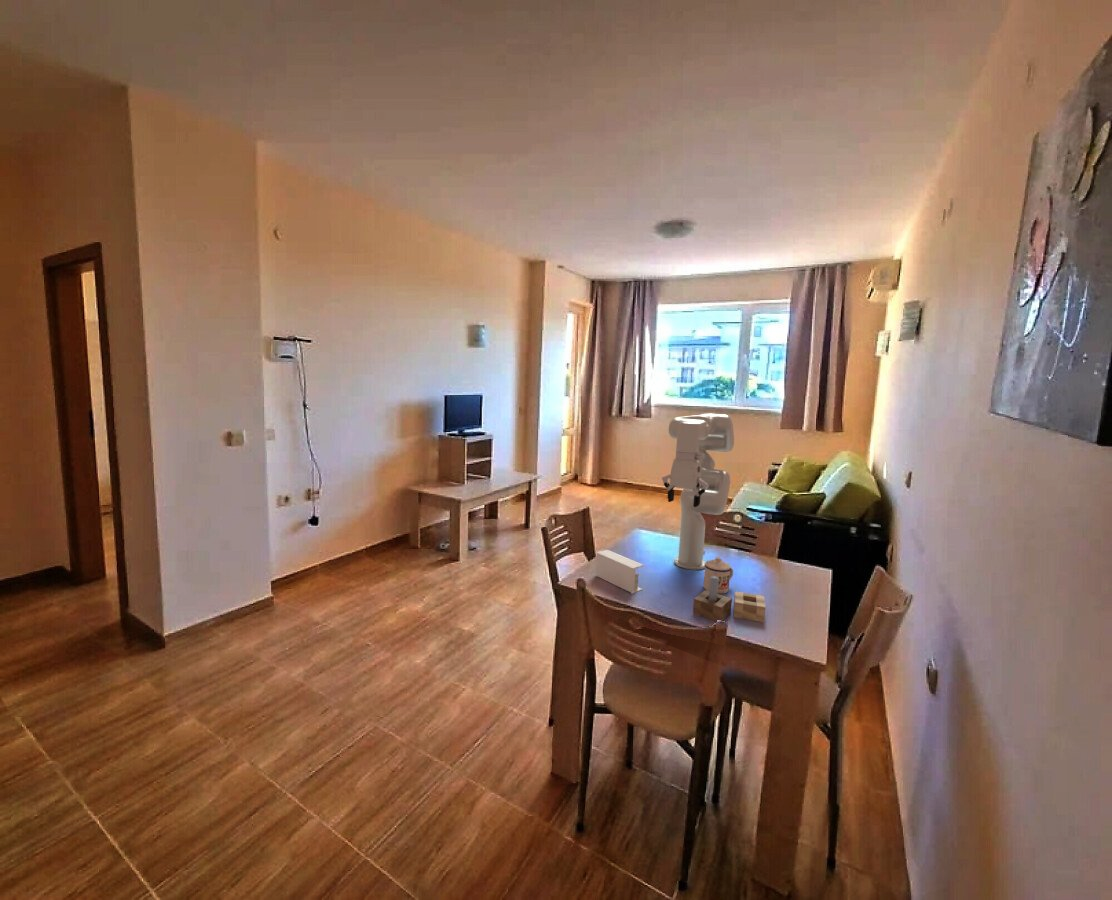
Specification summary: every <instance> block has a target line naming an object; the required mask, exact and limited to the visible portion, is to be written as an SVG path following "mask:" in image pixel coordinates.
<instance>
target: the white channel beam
mask: <svg viewBox="0 0 1112 900" xmlns="http://www.w3.org/2000/svg"><path fill="white" fill-rule="evenodd" d="M595 558H596V561H595V577H598V578H600V579H602V580H604V581H607V582H608V583H610V584H612V585H614V586H616V587H619V588H621V589H623V590H625V591H627V592H629V593H630V594H632V595H633V594H635V593H637V592H640V591H643V589H642V587H639V573H638V572H636V569H638V568H643V567H644V566H645V565H644V564H642V563H640V562H637V561H636V560H633V559H631V558H629V557H626V556H623V555H621V554H619V553H617V552H614V551H611V550H609V549H605V550H600V551H596V557H595Z"/></svg>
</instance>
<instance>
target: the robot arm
mask: <svg viewBox="0 0 1112 900" xmlns="http://www.w3.org/2000/svg"><path fill="white" fill-rule="evenodd" d="M733 424H734V423H733V421H732V419H731V417H730V416H729V415H727V414H722V413H721V414H720V413H719V414H718V413H701V414H698V415H686V416H677V417H674V418H672V419H671V420H670V422H669V425H668V435H669V437H671V438H672V439H676V445H675V446H676V448H675V458H674V459H673V461H672V464H671V469H670V474H668V475H665V476H663V477H661V480H662V483H663V485H664V487H665V489H666V491H667V499H668V500H667V502H669V503H671V502H674V500H675V498H674V497H675V489H674V488H678V489H682V491H681V493H680V497H679V498H680V499H679V500H680V511H681V512H680V513H681V514H680V515H681V517H680V518H681V519H680V528H679V530H680V531H679V532H680V533H679V543H678V546H679V547H678V555H677V557H675V558H674V559H673V563H674V564H675V565H676V566H677V567H679V568H682V569H686V570H691V571H694V570H695V571H696V570H698V571H699V570H703V569H705V563H706V562H707V561H705V560H704V559H703V558H704V555H706V551H705V550H704V547H705V534H706V521H705V519H704V516H703V515H702V514H707V515H716V516H719V515H723V514H724V512H725V510H726V508H727V502H728V498H729V491H730V488H731V476H730V474H729V472H727V471H726V470H723V469H715V466H716V462H715V460H714V458H713V457H712V456H711V454H710V453H708V452H711V451H712V452H719V453H720V452H721V453H728V452H729V453H730V452H731V451H732V450H733V449H734V447H735V435H734V433H735V432H734V425H733ZM707 451H708V452H707ZM668 480H669V482H668Z"/></svg>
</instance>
